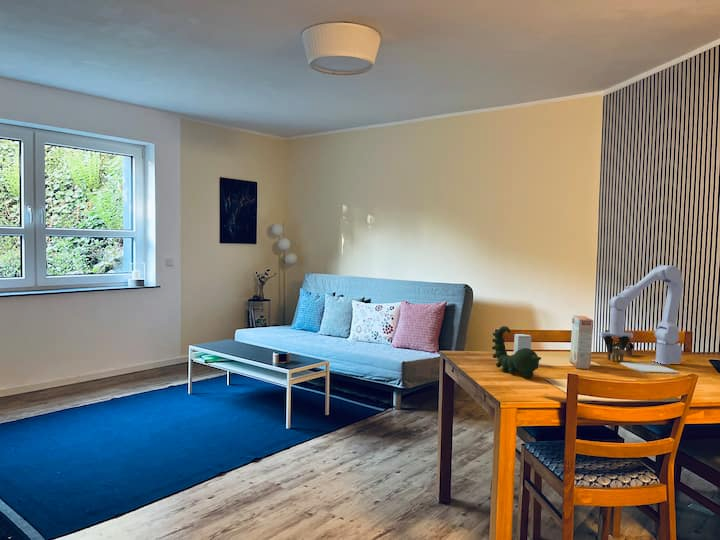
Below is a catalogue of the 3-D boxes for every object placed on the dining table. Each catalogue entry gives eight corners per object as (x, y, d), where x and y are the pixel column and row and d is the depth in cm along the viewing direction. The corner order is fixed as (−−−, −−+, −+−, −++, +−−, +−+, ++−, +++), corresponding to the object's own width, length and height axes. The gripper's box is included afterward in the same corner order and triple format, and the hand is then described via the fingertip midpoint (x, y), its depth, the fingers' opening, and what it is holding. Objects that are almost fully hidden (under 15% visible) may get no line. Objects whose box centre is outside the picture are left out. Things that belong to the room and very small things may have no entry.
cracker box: (591, 370, 217) (594, 319, 216) (575, 369, 218) (578, 319, 217) (583, 363, 231) (586, 315, 230) (569, 361, 232) (571, 314, 231)
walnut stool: (617, 359, 240) (618, 347, 240) (623, 361, 235) (623, 349, 235) (607, 359, 240) (607, 347, 240) (612, 361, 235) (613, 349, 235)
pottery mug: (625, 358, 246) (616, 342, 248) (611, 363, 254) (602, 347, 256) (642, 351, 250) (633, 335, 253) (628, 356, 258) (620, 340, 261)
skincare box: (517, 363, 224) (518, 335, 224) (512, 361, 229) (513, 333, 228) (530, 363, 225) (532, 335, 225) (525, 361, 230) (527, 333, 229)
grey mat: (655, 364, 232) (655, 363, 232) (678, 373, 216) (679, 371, 216) (620, 363, 231) (620, 362, 231) (641, 372, 216) (641, 371, 215)
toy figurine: (487, 372, 214) (531, 381, 191) (486, 325, 215) (530, 329, 192) (505, 370, 218) (550, 379, 195) (504, 324, 219) (550, 328, 196)
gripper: (627, 322, 241) (626, 351, 242) (597, 321, 240) (595, 350, 241) (636, 324, 234) (634, 354, 235) (605, 323, 233) (603, 354, 234)
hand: (615, 353), depth 237 cm, fingers closed on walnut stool, 5 cm apart
